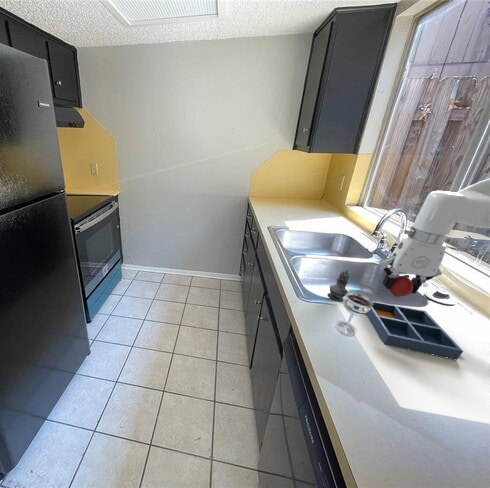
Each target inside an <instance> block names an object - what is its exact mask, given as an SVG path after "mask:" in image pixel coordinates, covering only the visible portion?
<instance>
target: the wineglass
mask: <svg viewBox="0 0 490 488" xmlns="http://www.w3.org/2000/svg"><path fill="white" fill-rule="evenodd" d="M343 298H344V301H343V302H342V303H343V304H342V305H343V307H344V309H345V310H346V312H347V313H349V318H348V319H347V322H346V324H342V323H338V324H336V325H335V329H336V330H337V332H339V333H341V334H342V335H344V336H348V337H354V336H355V331H354V330H353V329H352V328H351V326H349V325H350V323H351V321H352V320H353V318H354V316H356V317H361V316H366V314H368V313H369V312H370V311H371V306H373V304H374V303H373V301H374V300H372V299H371V298H370V297H368V296H367V295H365V294H362V293H361V292H360V293H359V292H354V291H350V292H349V291H348V293H347V294H346V296H344V297H343Z"/></svg>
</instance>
